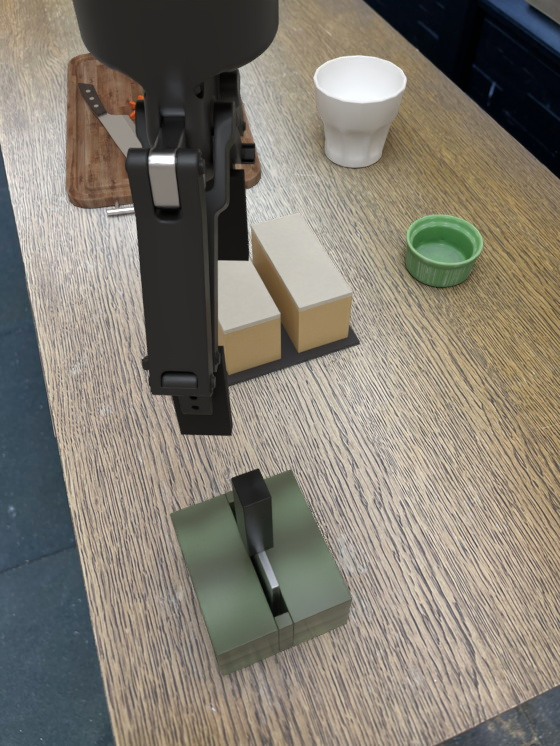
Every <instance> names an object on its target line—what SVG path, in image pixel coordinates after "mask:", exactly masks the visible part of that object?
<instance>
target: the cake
mask: <svg viewBox="0 0 560 746" xmlns="http://www.w3.org/2000/svg"><path fill="white" fill-rule="evenodd" d="M250 237H251V238H250V239H251V257H252V259H251V258H250V257H249V261H218V346H224V354H225V362H226V371H227V379H228V387H230V386H231V387H232V386H233V385H237V384H240V383H243V382H247V381H250V380H252V379H255V378H259V377H262V376H265V375H268V374H271V373H274V372H278V371H281V370H283V369H286V368H290V367H292V366H296V365H299V364H302V363H305V362H308V361H311V360H315V359H317V358H318V359H319V358H321V357H324V356H326V355H329V354H332V353H336V352H339V351H342V350H345V349H349V348H351V347H355V346H358V345H360V343H361V340H360V339H359V337H358V336H357V334H356V333H355V331H354V329H353V328H352V326H351V325H350V321H351V312H352V304H353V303H352V302H353V294H354V291H353V290H352V288H351V286H350V285H349V284H348V282H347V281H346V279H345V278H344V277H343V275H342V273H341V272H340V270H339V269H338V267H337V266H336V264H335V263H334V261H333V260H332V258H331V256H330V255H329V254H328V252H327V251H326V249H325V248H324V246H323V245H322V244H321V242H320V240H319V239H318V238H317V236H316V235H315V233H314V232H313V230H312V229H311V227H310V225H309V224H308V223H307V221H306V219H305V218H304V217H303V215H302V214H301V212H300V211H298V212H293V213H290V214H287V215H283V216H278V217H275V218H271V219H267V220H263V221H260V222H256V223H253V224H250Z"/></svg>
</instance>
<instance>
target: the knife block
mask: <svg viewBox="0 0 560 746" xmlns="http://www.w3.org/2000/svg"><path fill="white" fill-rule="evenodd" d="M264 481H265V483H266V485H267V488H268V490H269V492H270V494H271V497H272V517H273V542H274V547H273V548H271V549H268V550H266V551H265V552H266V554H267V557H268V559H269V562H270V564H271V567H272V569H273V571H274V574H275V576H276V579H277V581H278V584H279V600H280V615H279V616H276V617H273V615H272V612H271V610H270V607H269V604H268V602H267V599H266V597H265V594H264V592H263V589H262V587H261V584H260V581H259V579H258V576H257V574H256V571H255V569H254V566H253V564H252V561H251V559H250V557H249V556H248V554H247V551H246V549H245V546H244V544H243V541H242V539H241V536H240V533H239V531H238V526H237V519H236V511H235V504H234V497H233V490H231V491H227V492H225V493H223V494H219V495H216V496H214V497H212V498H209V499H206V500H203V501H200V502H197V503H195V504H192V505H188V506H186V507H183V508H181V509H179V510H175V511H173V512H170V513H169V515H170V519H171V522H172V525H173V528H174V531H175V533H176V534H175V536H176V539H177V540H178V544H179V547H180V550H181V553H182V556H183V560H184V562H185V565H186V569H187V572H188V574H189V578H190V581H191V585H192V587H193V591H194V593H195V596H196V599H197V602H198V605H199V609H200V612H201V614H202V618H203V620H204V624H205V627H206V630H207V633H208V636H209V639H210V642H211V645H212V648H213V651H214V654H215V658H216V660H217V664H218V667H219V670H220V672H221V676H222V677H226V676H228V675H230V674H232V673H235V672H238V671H240V670H242V669H244V668H246V667H249V666H251V665H254V664H256V663H258V662H262V661H263V660H265V659H268V658H270V657H273V656H274V655H275V656H276V655H277V654H279V653H281V652H284V651H287V650H289V649H291V648H293V647H295V646H296V647H297V646H298V645H301V644H303V643H305V642H308V641H310V640H312V639H314V638H317V637H319V636H322V635H323V634H324V635H325V634H326V633H328V632H331V631H333V630H336V629H338V628H341V627H343V626H344V625H347V624H348V620H349V615H350V611H351V607H352V604H353V603H352V602H353V597H352V595H351V593H350V591H349V589H348V586H347V584H346V582H345V580H344V577H343V576H342V574H341V572H340V570H339V568H338V567H339V566H338V565H337V563H336V561H335V559H334V557H333V555H332V553H331V551H330V548H329V546H328V544H327V542H326V540H325V537H324V535H323V534H322V531H321V529H320V527H319V525H318V522H317V521H316V519H315V516H314V514H313V512H312V510H311V509H310V506H309V504H308V502H307V500H306V497H305V495H304V494H303V491H302V489H301V487H300V484H299V483H298V481H297V479H296V477H295V475H294V472H293V470H292V469H288V470H286V471H283V472H280V473H277V474H274V475H272V476H269V477H266V478H264Z"/></svg>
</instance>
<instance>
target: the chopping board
mask: <svg viewBox="0 0 560 746" xmlns="http://www.w3.org/2000/svg"><path fill="white" fill-rule="evenodd" d="M66 73H67V75H66V77H67V78H66V81H67V82H66V125H65V126H66V127H65V129H66V132H65V133H66V137H65V191H66V194H67V197H68V200H69V202H70V203H71V204H72V205H74V206H75V207H78V208H82V209H96V208H105V207H106V208H107V207H114V208H107V209H106V210H105V211H106V215H107V216H114V215H123V214H131V213H135V211H134V206H133V205H130V206H122V207H120V206H121V205H129V204H133V201H132V195H131V190H130V185H129V179H128V174H127V172H126V169H125V160H126V158H127V152H128V149H129V148H142V145H141V143H140V141H139V140H138V138H137V136H136V132H135V104H136V101H137V100H144V90H143V88H142V87H141V86H140V85H139V84H138V83H137V82H136V81H134V80H133V79H131V78H130V77H128V76H126V75H124V74H123V73H120V72H119V71H116V70H112V69H110V68H108V67H107V66H105V65H103V64H102V63H100V62H99V61H98V60H97V59H95V58H94V57H93V56H92V55H91V54H90V52H87V53H81V54H78V55H75V56H73V57H72V58H71V59H69V61H68V63H67V72H66ZM241 102H242V109H243V116H244V121H245V122H246V131H245V132H244V137H240V138H241V141H242V143H255V141H254V137H253V134H252V130H251V127H250V123H249V120H248V116H247V113H246V110H245V106H244V102H243V99H242V98H241ZM235 169H244V171H245V187H246V190H247V189H251V188H252V187H254V186H255V185H258V183H259V182H260V180H261V177H262V165H261V162H260V157H259V154H258V151H257V148H256V146H255V164H235Z"/></svg>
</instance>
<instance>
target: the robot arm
mask: <svg viewBox="0 0 560 746" xmlns="http://www.w3.org/2000/svg"><path fill="white" fill-rule="evenodd" d="M71 1H72V5H73V9H74V12H75V18H76V21H77V26H78V30H79V35H80V37H81V41H82V43H83V45H84V47H85V48H86V50H87V51H88V53H90V54H91V55H92V56H93V57H94V58H95V59H97V60H98V61H99V62H100V63H102V64H103V65H105V66H107V67H108V68H110V69H112V70H116V71H119V72H120V73H123V74H124V75H126V76H128V77H130V78H131V79H133V80H134V81H136V82H137V83H138V84H139V85H140V86H141V87H142V88H143V90H144V100H137V101H136V104H135V132H136V136H137V138H138V140H139V141H140V143H141V145H142V148H129V149H128V152H127V158H126V160H125V169H126V172H127V174H128V179H129V185H130V190H131V195H132V201H133V203H132V206H134V211H135V212H134V216H135V217H134V218H135V226H136V239H137V248H138V249H137V252H138V261H139V274H140V283H141V284H140V287H141V296H142V308H143V319H144V331H145V344H146V352H147V354H146V355H145V356H143V358H141V366H142V367H141V368H142V369H143V371H148V378H147V379H148V380H147V381H148V386H149V392H150V393H151V395H152V396H166V397H167V396H169V397H171V399H172V403H173V407H174V411H175V416H176V420H177V424H178V428H179V433H180V435H181V436H213V437H232V436H233V426H234V422H233V413H232V405H231V397H230V389H229V386H228V379H227V371H226V362H225V354H224V346H218V261H249V258H250V242H249V241H250V239H249V223H248V208H247V206H248V205H247V204H248V203H247V191H246V190H247V189H246V187H245V171H244V169H235V164H255V147H256V143H255V142H254V143H242V141H241V138H240V137H244V132H245V131H246V122H245V121H244V116H243V109H242V102H243V101H242V102H241V99H242V95H241V74H240V69H241V68H242V67H244V66H246V65H249V64H250V63H251V62H252V63H253V61H255V60H257V59H258V58H259V57H260V56H262V55H263V54H264V53H265V52H266V51H267V50H268V48H269V47H270V46H271V45H272V43H273V42H274V40H275V38H276V36H277V33H278V30H279V24H280V4H279V3H280V2H279V1H280V0H71Z"/></svg>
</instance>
